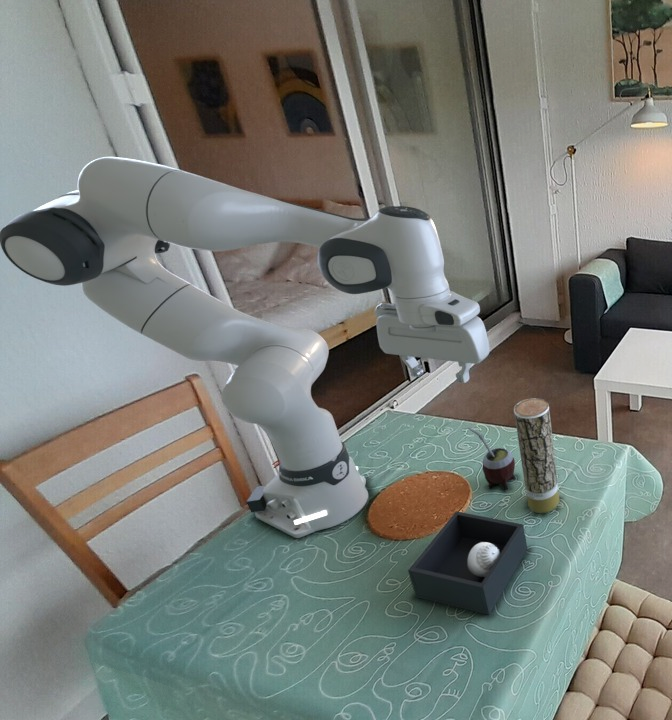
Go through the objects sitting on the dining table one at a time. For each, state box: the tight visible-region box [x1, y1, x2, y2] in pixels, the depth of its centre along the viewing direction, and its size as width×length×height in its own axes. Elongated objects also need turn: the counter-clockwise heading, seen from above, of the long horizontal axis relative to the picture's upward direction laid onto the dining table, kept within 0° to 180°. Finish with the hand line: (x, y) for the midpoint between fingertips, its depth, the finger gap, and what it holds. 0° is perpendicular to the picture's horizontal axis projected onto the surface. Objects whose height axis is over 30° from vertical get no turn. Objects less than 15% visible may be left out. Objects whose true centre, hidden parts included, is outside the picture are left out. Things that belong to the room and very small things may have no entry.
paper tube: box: [513, 397, 560, 514], centre depth 104 cm, size 7×7×25 cm
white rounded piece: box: [467, 542, 500, 577], centre depth 90 cm, size 6×6×7 cm
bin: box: [407, 510, 528, 616], centre depth 92 cm, size 15×15×7 cm
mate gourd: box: [467, 426, 516, 491], centre depth 113 cm, size 8×8×15 cm
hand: (440, 378), depth 90 cm, fingers open, 8 cm apart
